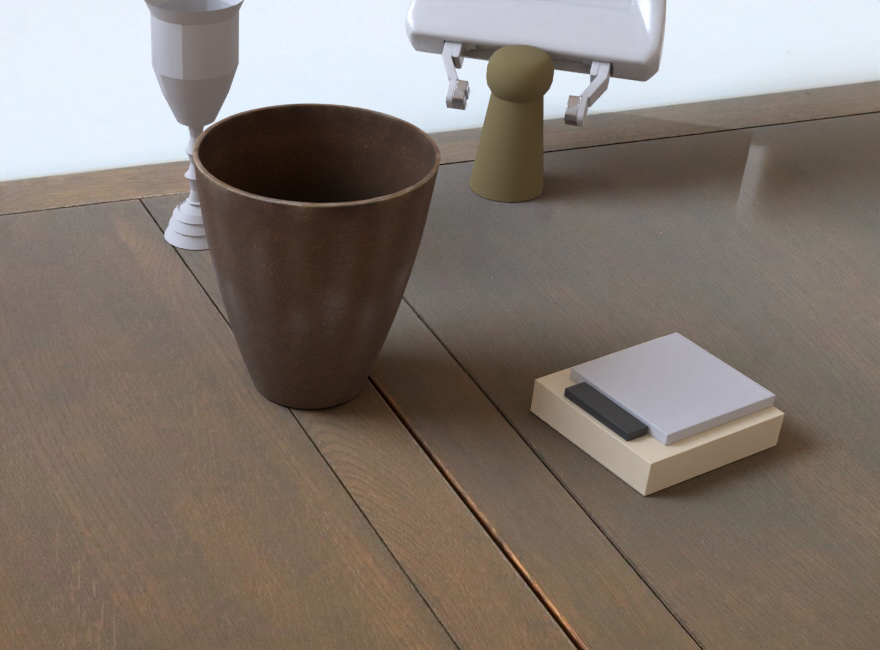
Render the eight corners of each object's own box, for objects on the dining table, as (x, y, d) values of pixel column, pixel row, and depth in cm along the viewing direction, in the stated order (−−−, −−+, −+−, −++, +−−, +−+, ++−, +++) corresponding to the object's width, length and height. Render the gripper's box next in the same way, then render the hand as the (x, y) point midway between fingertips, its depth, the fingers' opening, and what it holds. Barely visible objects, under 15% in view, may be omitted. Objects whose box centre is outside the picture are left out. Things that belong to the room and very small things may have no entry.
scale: (657, 366, 107) (666, 324, 104) (776, 445, 99) (788, 402, 97) (529, 411, 102) (536, 368, 100) (644, 496, 95) (653, 452, 93)
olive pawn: (535, 207, 125) (555, 69, 118) (461, 195, 126) (475, 59, 119) (549, 176, 129) (569, 41, 122) (477, 165, 131) (492, 31, 123)
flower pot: (158, 353, 107) (151, 126, 97) (347, 305, 113) (359, 85, 102) (260, 465, 97) (265, 225, 87) (462, 406, 103) (489, 173, 92)
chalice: (226, 208, 124) (226, -27, 112) (257, 246, 119) (261, 4, 108) (138, 223, 122) (129, -15, 110) (166, 261, 117) (160, 17, 106)
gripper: (421, -90, 123) (380, 78, 123) (685, -60, 118) (643, 115, 118) (430, -48, 130) (391, 113, 129) (681, -18, 125) (641, 149, 124)
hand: (513, 114), depth 123 cm, fingers open, 8 cm apart
